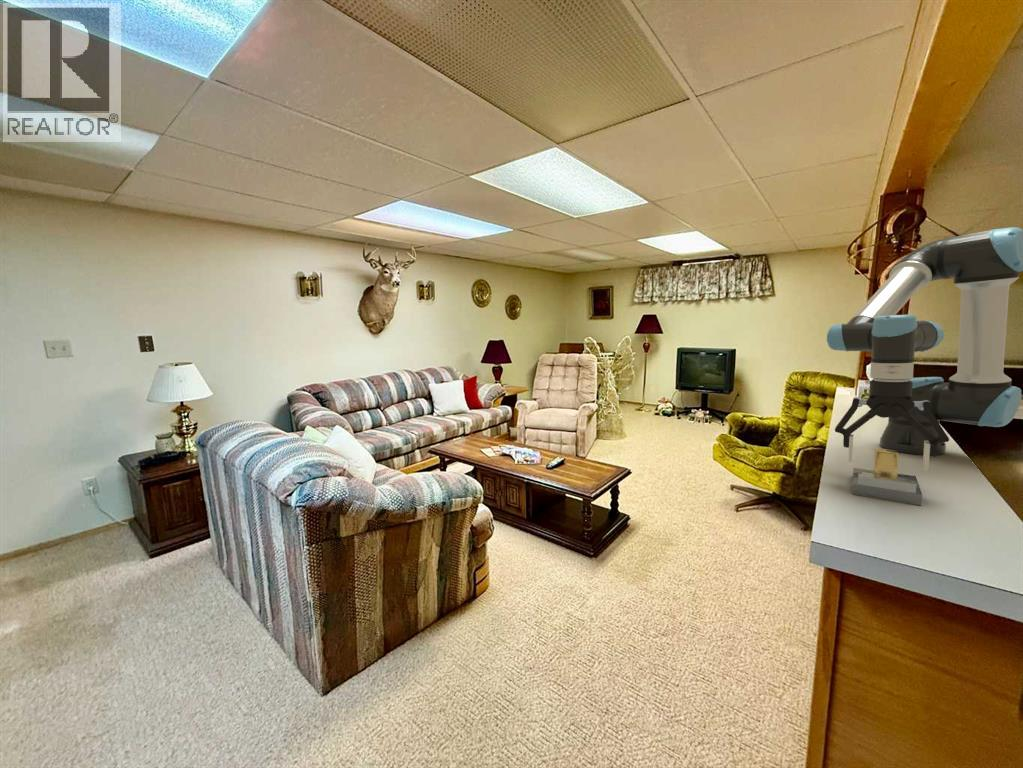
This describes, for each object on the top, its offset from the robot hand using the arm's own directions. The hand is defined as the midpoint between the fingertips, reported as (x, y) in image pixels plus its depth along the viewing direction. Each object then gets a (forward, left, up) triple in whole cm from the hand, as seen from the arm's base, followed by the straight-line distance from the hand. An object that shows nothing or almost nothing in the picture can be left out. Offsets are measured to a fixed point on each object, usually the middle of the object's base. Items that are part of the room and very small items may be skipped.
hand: (886, 464), depth 99 cm
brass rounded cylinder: (0, 0, -7) cm, 7 cm away
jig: (0, 0, -7) cm, 7 cm away
